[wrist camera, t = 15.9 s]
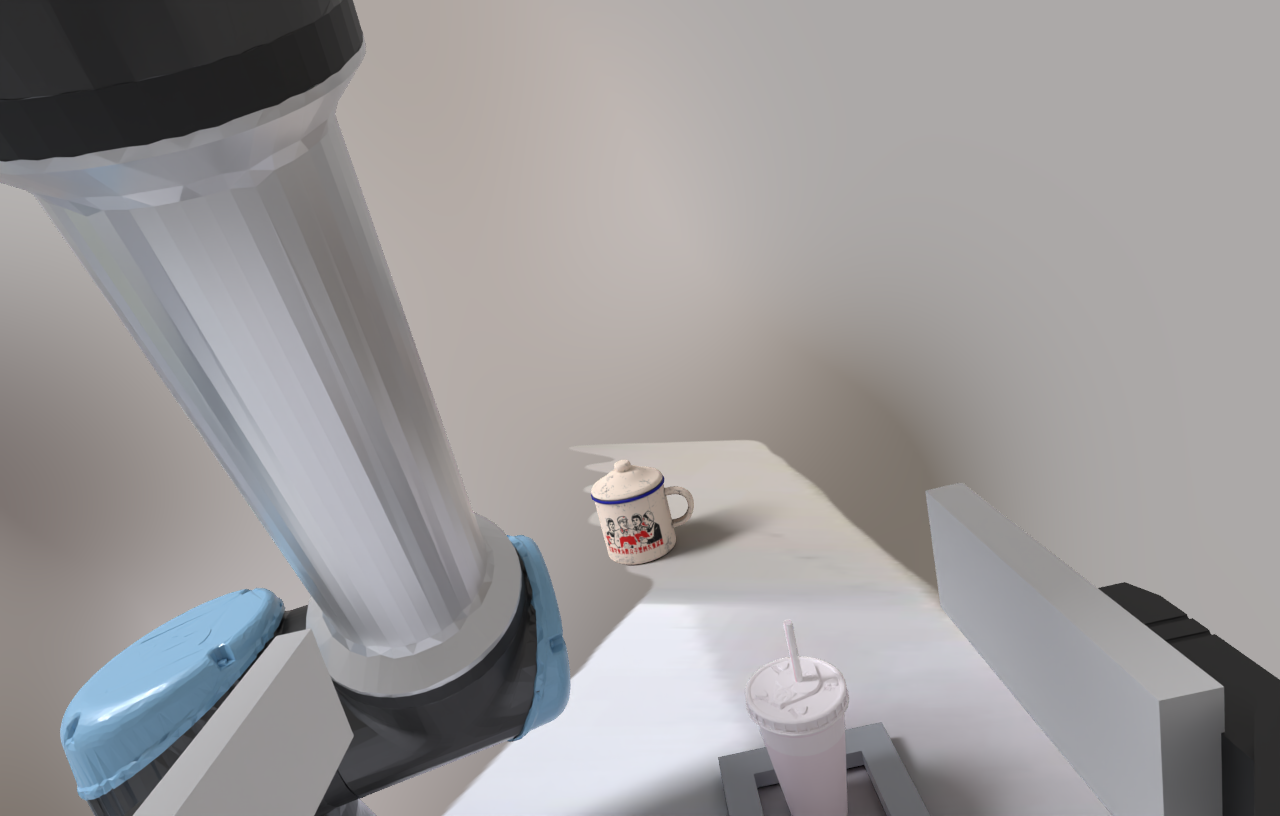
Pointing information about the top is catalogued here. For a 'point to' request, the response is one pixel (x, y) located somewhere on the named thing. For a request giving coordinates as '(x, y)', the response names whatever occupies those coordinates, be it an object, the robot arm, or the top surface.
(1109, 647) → the robot arm
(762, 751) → the cup holder tray
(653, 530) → the teacup with lid
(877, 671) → the top surface
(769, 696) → the smoothie
